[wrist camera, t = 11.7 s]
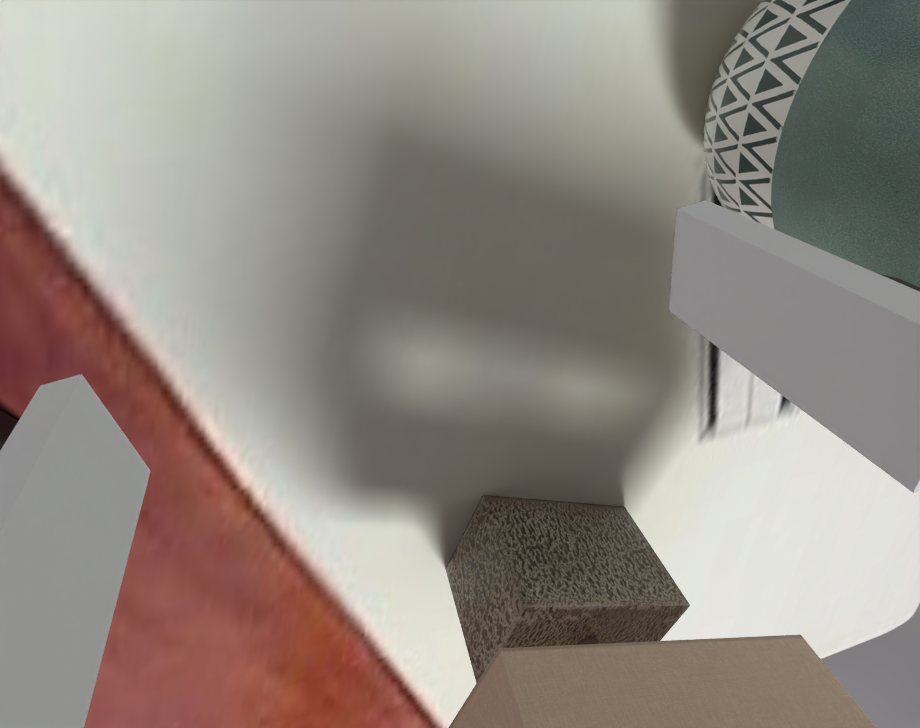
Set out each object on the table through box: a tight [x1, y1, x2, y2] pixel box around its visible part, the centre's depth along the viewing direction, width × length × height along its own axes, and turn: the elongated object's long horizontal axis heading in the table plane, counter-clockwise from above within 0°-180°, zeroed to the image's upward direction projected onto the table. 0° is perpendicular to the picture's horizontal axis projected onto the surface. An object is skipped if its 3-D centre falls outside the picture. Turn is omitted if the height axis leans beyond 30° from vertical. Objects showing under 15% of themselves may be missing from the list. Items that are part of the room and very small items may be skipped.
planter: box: [704, 0, 920, 287], centre depth 29 cm, size 20×20×21 cm
